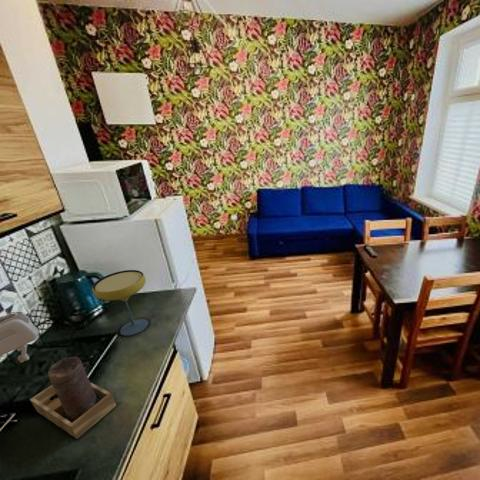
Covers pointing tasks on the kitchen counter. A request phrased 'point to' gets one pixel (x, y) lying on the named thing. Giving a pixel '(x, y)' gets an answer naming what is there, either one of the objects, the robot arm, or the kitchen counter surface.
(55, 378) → the candle
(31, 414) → the kitchen counter surface
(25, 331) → the robot arm
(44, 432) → the kitchen counter surface
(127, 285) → the cocktail glass
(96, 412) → the tray
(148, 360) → the kitchen counter surface
